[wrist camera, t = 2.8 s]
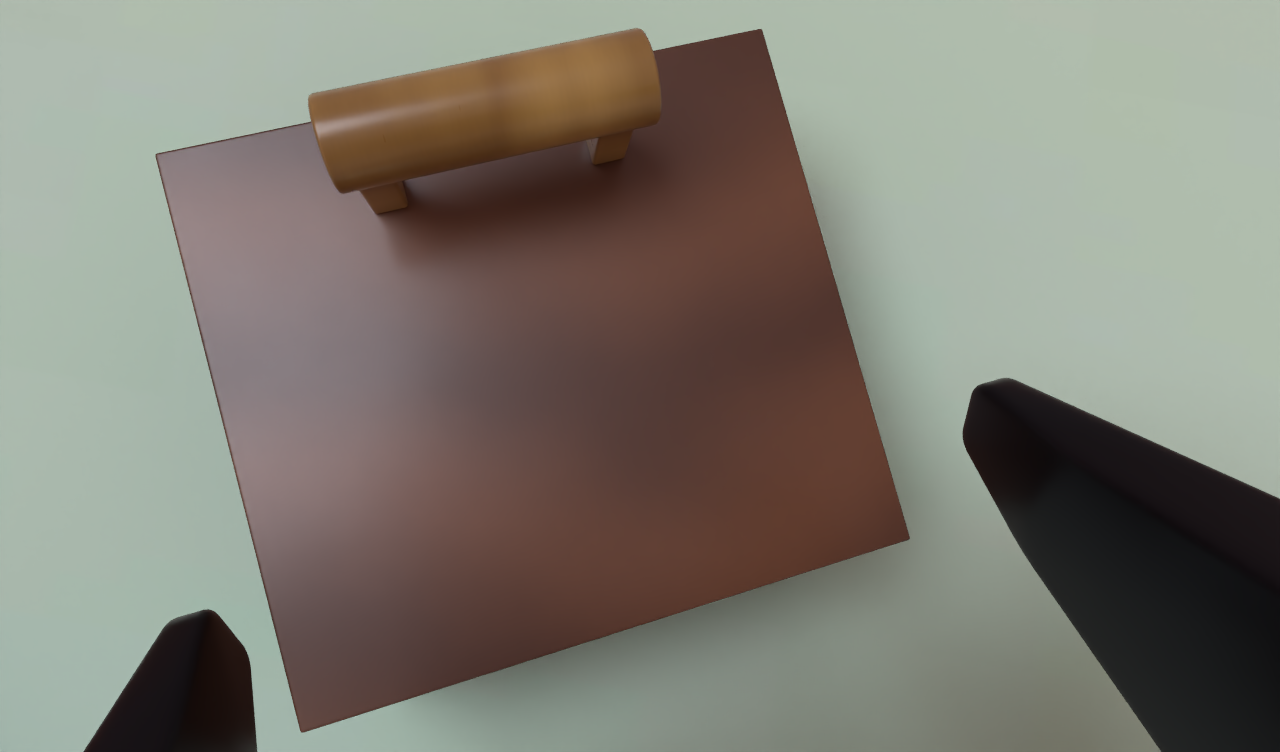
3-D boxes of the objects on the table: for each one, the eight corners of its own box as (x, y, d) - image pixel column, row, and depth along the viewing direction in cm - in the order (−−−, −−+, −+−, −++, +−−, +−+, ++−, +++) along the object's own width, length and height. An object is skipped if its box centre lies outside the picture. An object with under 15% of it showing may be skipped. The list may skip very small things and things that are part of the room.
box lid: (169, 165, 16) (35, 61, 12) (753, 43, 18) (825, -87, 14) (309, 721, 16) (224, 829, 11) (896, 535, 18) (1019, 566, 13)
